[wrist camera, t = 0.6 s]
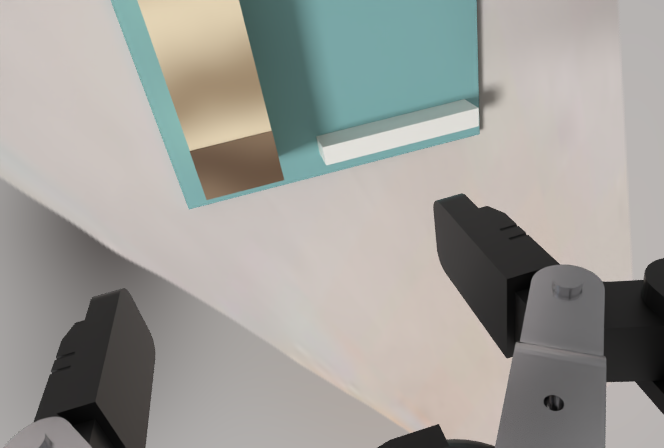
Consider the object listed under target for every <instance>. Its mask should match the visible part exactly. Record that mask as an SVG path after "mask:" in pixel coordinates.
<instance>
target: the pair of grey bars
mask: <svg viewBox="0 0 664 448" xmlns="http://www.w3.org/2000/svg"><path fill="white" fill-rule="evenodd" d="M478 126H479V108H478V107H476V106H475V105H473V104H471V103H470V102H468V101H467V100H465V99H463V100H459V101H455V102H451V103H447V104H443V105H439V106H435V107H431V108H427V109H423V110H419V111H415V112H411V113H407V114H403V115H399V116H395V117H391V118H387V119H383V120H379V121H375V122H371V123H367V124H363V125H359V126H355V127H351V128H348V129H344V130H340V131H336V132H332V133H328V134H324V135H320V136H316V138H317V142H318V147H319V152H320V155H321V157H322V159H323V161H324V162H325V164H326V165H330V164H334V163H338V162H342V161H346V160H350V159H353V158H357V157H361V156H365V155H369V154H373V153H377V152H381V151H384V150H388V149H392V148H396V147H400V146H404V145H408V144H412V143H416V142H419V141H423V140H427V139H431V138H435V137H439V136H443V135H447V134H451V133H454V132H458V131H462V130H466V129H470V128H474V127H478Z"/></svg>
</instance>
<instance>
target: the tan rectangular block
mask: <svg viewBox="0 0 664 448" xmlns="http://www.w3.org/2000/svg"><path fill="white" fill-rule="evenodd" d="M137 1H138V4H139V7H140V10H141V13H142V15H143V18H144V21H145V24H146V27H147V30H148V33H149V35H150V38H151V41H152V44H153V47H154V50H155V53H156V56H157V58H158V61H159V64H160V67H161V70H162V73H163V76H164V78H165V81H166V84H167V87H168V90H169V93H170V96H171V98H172V101H173V104H174V107H175V110H176V113H177V116H178V119H179V121H180V124H181V127H182V130H183V133H184V136H185V139H186V141H187V144H188V147H189V150H190V154H191V157H192V160H193V163H194V166H195V169H196V171H197V174H198V177H199V180H200V183H201V186H202V189H203V191H204V194H205V197H206V200H210V199H213V198H217V197H221V196H225V195H229V194H233V193H237V192H241V191H244V190H248V189H252V188H256V187H260V186H264V185H268V184H272V183H275V182H279V181H283V180H284V177H283V173H282V169H281V165H280V161H279V157H278V153H277V149H276V145H275V141H274V137H273V133H272V130H271V126H270V122H269V118H268V114H267V110H266V106H265V102H264V98H263V94H262V90H261V86H260V82H259V78H258V74H257V70H256V66H255V62H254V58H253V54H252V50H251V46H250V42H249V38H248V34H247V30H246V27H245V23H244V19H243V15H242V11H241V7H240V3H239V0H137Z"/></svg>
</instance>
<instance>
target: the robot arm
mask: <svg viewBox="0 0 664 448" xmlns="http://www.w3.org/2000/svg"><path fill="white" fill-rule="evenodd" d="M433 209H434V221H435V232H436V242H437V252H438V256H439V260H440V263H441V265H442V267H443V269H444V271H445V273H446V274H447V276H448V277H449V278H450V280H451V281H452V283H453V284H454V285H455V287H456V288H457V290H458V291H459V292H460V294H461V295H462V297H463V298H464V299H465V301H466V302H467V304H468V305H469V306H470V308H471V309H472V311H473V312H474V313H475V315H476V316H477V318H478V319H479V320H480V322H481V323H482V325H483V326H484V327H485V329H486V330H487V332H488V333H489V334H490V336H491V337H492V339H493V340H494V341H495V343H496V344H497V346H498V347H499V348H500V350H501V351H502V352H503V354H504V355H505V357H506V358H510V357H513V359H512V364H511V369H510V374H509V379H508V384H507V389H506V394H505V399H504V404H503V410H502V415H501V420H500V425H499V430H498V435H497V440H496V445H495V446H493V445H489V444H485V443H482V442H477V441H471V440H460V439H449V440H446V438H445V436H444V434H443V432H442V430H441V428H440V426H439V424H437V425H434V426H431V427H428V428H425V429H422V430H419V431H416V432H413V433H410V434H407V435H404V436H401V437H398V438H394V439H392V440H389V441H388V442H386V443H384V444H383V445H381V446H379V447H378V448H605V427H606V426H605V424H606V382H629V381H635V382H636V383H637V384H638V385H639V387H640V388H641V389H642V390H643V391H644V392H645V394H646V395H647V396H648V397H649V398H650V399H651V400H652V402H653V403H654V404H655V405H656V406H657V407H658V409H659V410H660V411H661V412H662V413H663V414H664V258H663V259H659V260H656V261H654V262H652V263H651V264H649V265H648V267H647V268H646V270H645V275H644V280H634V281H616V282H602V281H601V279H600V278H599V277H598V276H597V275H595V274H594V273H593V272H591V271H589V270H587V269H584V268H581V267H578V266H573V265H560V264H559V263H558V262H557V261H556V260H555V259H554V258H552V257H551V256H550V255H549V254H548V253H547V252H546V251H545V250H544V249H543V248H542V247H541V246H540V245H538V244H537V243H536V242H535V241H534V240H533V239H532V238H531V237H530V236H529V235H526V232H524V231H523V230H522V229H521V228H520V227H519V226H518V227H517V225H516V223H515V222H514V221H513V220H512V219H510V218H509V217H508V216H507V215H506V214H505V213H503V212H501V211H498V210H496V209H493V208H491V207H489V206H485V207H482V208H478V207H477V206H476V205H475V204H474V203H473V202H472V201H471V200H470V199H469V198H468V197H467V196H466V195H465V194H458V195H455V196H451V197H448V198H444V199H441V200H437V201H435V202H434V207H433ZM56 358H57V360H55V361H54V364H53V367H52V370H51V372H52V374H51V375H50V376H49V379H48V382H47V385H46V388H45V390H44V393H43V397H42V399H41V402H40V405H39V408H38V411H37V414H36V417H35V420H34V422H33V423H32V424H30V425H28V426H26V427H25V428H23V429H22V430H21V431H19V432H18V433H17V434H16V435H14V436H13V437H12V438H11V439H10V440H9V441H8V443H7V444H6V445H5V446H4V447H3V448H145V445H146V437H147V428H148V418H149V410H150V401H151V392H152V382H153V373H154V364H155V347H154V342H153V338H152V336H151V333H150V331H149V329H148V327H147V325H146V323H145V321H144V320H143V318H142V316H141V314H140V312H139V310H138V308H137V306H136V304H135V302H134V300H133V298H132V297H131V295H130V293H129V292H128V291H127V290H126V289H125V288H123V289H119V290H115V291H112V292H108V293H105V294H101V295H98V296H94V297H92V299H91V301H90V305H89V308H88V311H87V314H86V318H85V320H84V321H81V322H77V323H75V325H73V327H72V328H71V329H70V331H69V332H68V333H67V335H66V336H65V337H64V338H63V339H62V341H61V344H60V347H59V350H58V353H57V356H56Z"/></svg>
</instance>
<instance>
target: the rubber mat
mask: <svg viewBox="0 0 664 448" xmlns="http://www.w3.org/2000/svg"><path fill="white" fill-rule="evenodd" d="M111 3H112V5H113V8H114V11H115V13H116V16H117V19H118V21H119V24H120V27H121V29H122V32H123V35H124V37H125V40H126V43H127V45H128V48H129V51H130V53H131V56H132V59H133V61H134V64H135V67H136V69H137V72H138V75H139V77H140V80H141V83H142V85H143V88H144V91H145V93H146V96H147V99H148V101H149V104H150V107H151V109H152V112H153V115H154V117H155V120H156V123H157V125H158V128H159V131H160V133H161V136H162V139H163V141H164V144H165V147H166V149H167V152H168V155H169V157H170V160H171V163H172V165H173V168H174V171H175V173H176V176H177V179H178V181H179V184H180V187H181V189H182V192H183V195H184V197H185V200H186V203H187V205H188V208H189V209H192V208H196V207H200V206H204V205H208V204H212V203H215V202H219V201H223V200H227V199H231V198H235V197H239V196H242V195H246V194H250V193H254V192H258V191H262V190H266V189H269V188H273V187H277V186H281V185H285V184H289V183H293V182H296V181H300V180H304V179H308V178H312V177H316V176H320V175H323V174H327V173H331V172H335V171H339V170H343V169H347V168H350V167H354V166H358V165H362V164H366V163H370V162H374V161H377V160H381V159H385V158H389V157H393V156H397V155H401V154H404V153H408V152H412V151H416V150H420V149H424V148H428V147H432V146H435V145H439V144H443V143H447V142H451V141H455V140H459V139H462V138H466V137H470V136H474V135H478V134H480V131H479V126H478V127H474V128H470V129H466V130H462V131H458V132H454V133H451V134H447V135H443V136H439V137H435V138H431V139H427V140H423V141H419V142H416V143H412V144H408V145H404V146H400V147H396V148H392V149H388V150H384V151H381V152H377V153H373V154H369V155H365V156H361V157H357V158H353V159H350V160H346V161H342V162H338V163H334V164H330V165H326V164H325V162H324V161H323V159H322V157H321V155H320V152H319V147H318V142H317V138H316V136H320V135H324V134H328V133H332V132H336V131H340V130H344V129H348V128H351V127H355V126H359V125H363V124H367V123H371V122H375V121H379V120H383V119H387V118H391V117H395V116H399V115H403V114H407V113H411V112H415V111H419V110H423V109H427V108H431V107H435V106H439V105H443V104H447V103H451V102H455V101H459V100H463V99H465V100H467V101H468V102H470V103H471V104H473V105H475V106H476V107H478V108H479V88H478V45H477V1H476V0H239V3H240V7H241V11H242V15H243V19H244V23H245V27H246V30H247V34H248V38H249V42H250V46H251V50H252V54H253V58H254V62H255V66H256V70H257V74H258V78H259V82H260V86H261V90H262V94H263V98H264V102H265V106H266V110H267V114H268V118H269V122H270V126H271V130H272V133H273V137H274V141H275V145H276V149H277V153H278V157H279V161H280V165H281V169H282V173H283V177H284V180H283V181H279V182H275V183H272V184H268V185H264V186H260V187H256V188H252V189H248V190H244V191H241V192H237V193H233V194H229V195H225V196H221V197H217V198H213V199H210V200H206V197H205V194H204V191H203V189H202V186H201V183H200V180H199V177H198V174H197V171H196V169H195V166H194V163H193V160H192V157H191V154H190V150H189V147H188V144H187V141H186V139H185V136H184V133H183V130H182V127H181V124H180V121H179V119H178V116H177V113H176V110H175V107H174V104H173V101H172V98H171V96H170V93H169V90H168V87H167V84H166V81H165V78H164V76H163V73H162V70H161V67H160V64H159V61H158V58H157V56H156V53H155V50H154V47H153V44H152V41H151V38H150V35H149V33H148V30H147V27H146V24H145V21H144V18H143V15H142V13H141V10H140V7H139V4H138V1H137V0H111Z"/></svg>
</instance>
